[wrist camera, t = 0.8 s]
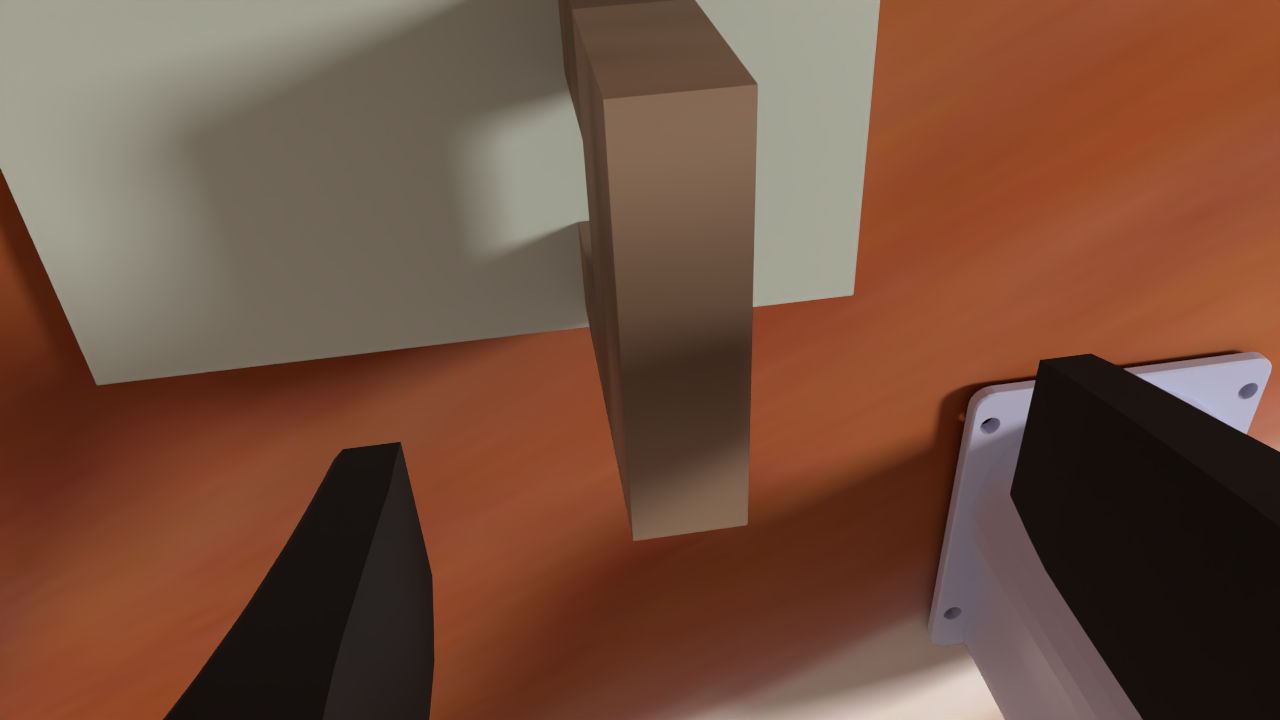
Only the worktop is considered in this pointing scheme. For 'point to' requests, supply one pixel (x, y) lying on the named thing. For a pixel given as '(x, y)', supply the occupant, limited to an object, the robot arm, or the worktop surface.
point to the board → (371, 169)
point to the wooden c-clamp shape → (668, 252)
